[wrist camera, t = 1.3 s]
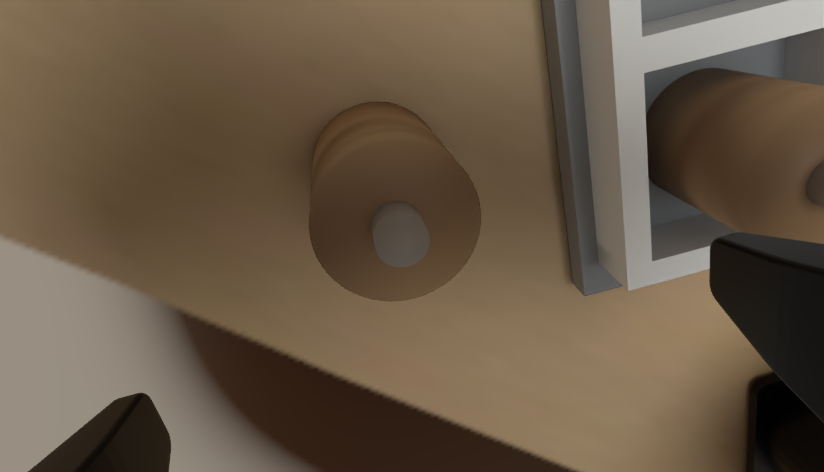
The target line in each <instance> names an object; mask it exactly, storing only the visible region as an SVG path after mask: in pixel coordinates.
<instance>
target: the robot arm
mask: <svg viewBox="0 0 824 472" xmlns="http://www.w3.org/2000/svg"><path fill="white" fill-rule="evenodd" d="M710 288H711V292H712V294H713V296H714V298H715V299H716V301H717V302H718V303H719V305H720V306H721V307H722V308H723V309H724V311H725V312H726V313H727V314H728V316H729V317H730V318H731V319H732V321H733V322H734V323H735V324H736V326H737V327H738V328H739V329H740V331H741V332H742V333H743V334H744V336H745V337H746V338H747V339H748V341H749V342H750V343H751V344H752V346H753V347H754V348H755V349H756V351H757V352H758V353H759V354H760V356H761V357H762V358H763V359H764V361H765V362H766V363H767V364H768V365H769V366H770V368H771V369H772V370H773V371H774V372H775V373H776V374H775V375H771V376H768V377H764V378H761V379H759V380H757V381H756V382H755V383H754V384H753V385H752V387H751V390H750V412H749V435H748V458H747V472H824V244H821V243H814V242H807V241H800V240H793V239H786V238H779V237H772V236H765V235H758V234H751V233H744V232H737V233H732V234H729V235H725V236H721V237H718V238H715V239H714V240H713V241H712V243H711V245H710ZM170 453H171V441H170V436H169V433H168V431H167V429H166V427H165V425H164V423H163V421H162V419H161V417H160V415H159V413H158V411H157V409H156V408H155V406H154V404H153V402H152V400H151V399H150V397H149V396H148V395H147V394H144V393H137V394H134V395H130V396H126V397H122V398H119V399H116V400H115V401H113V402H112V403H111V404H110V405H108V406H107V407H106V408H105V409H103V410H102V411H101V412H100V413H99V414H97V415H96V416H95V417H94V418H93V419H91V420H90V421H89V422H88V423H87V424H85V425H84V426H83V427H82V428H80V429H79V430H78V431H77V432H76V433H74V434H73V435H72V436H71V437H70V438H68V439H67V440H66V441H65V442H63V443H62V444H61V445H60V446H59V447H57V448H56V449H55V450H54V451H53V452H51V453H50V454H49V455H48V456H47V457H45V458H44V459H43V460H42V461H41V462H39V463H38V464H37V465H36V466H34V467H33V468H32V469H31V470H30V471H28V472H169V463H170Z"/></svg>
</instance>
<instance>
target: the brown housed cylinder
mask: <svg viewBox="0 0 824 472" xmlns="http://www.w3.org/2000/svg"><path fill="white" fill-rule="evenodd" d="M646 132H647V155H648V178H649V179H650V180H651V181H652V182H653V183H654V184H655V185H656V186H657V187H659V188H661V189H663V190H664V191H666V192H668V193H670V194H671V195H673V196H675V197H677V198H679V199H680V200H682V201H684V202H686V203H688V204H689V205H691V206H693V207H695V208H697V209H698V210H700V211H702V212H704V213H706V214H707V215H709V216H711V217H713V218H714V219H716V220H718V221H720V222H722V223H723V224H725V225H727V226H729V227H731V228H732V229H734V230H736V231H738V232H744V233H751V234H758V235H765V236H772V237H779V238H786V239H793V240H800V241H807V242H814V243H821V244H824V86H821V85H815V84H809V83H803V82H797V81H792V80H786V79H780V78H774V77H768V76H763V75H757V74H751V73H745V72H740V71H734V70H728V69H722V68H704V69H699V70H696V71H693V72H690V73H688V74H686V75H683V76H682V77H680V78H678V79H677V80H675V81H674V82H672V83H671V84H670V85H669V86H667V87H666V88H665V89H664V90H663V91H662V92H661V93H660V94H659V96H658V97H657V98H656V99H655V101H654V102H653V104H652V105H651V107H650V108H649V110H648V112H647V114H646Z"/></svg>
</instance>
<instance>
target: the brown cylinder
mask: <svg viewBox="0 0 824 472" xmlns="http://www.w3.org/2000/svg"><path fill="white" fill-rule="evenodd" d="M480 225H481V211H480V203H479V199H478V195H477V192H476V189H475V187H474V185H473V183H472V181H471V179H470V178H469V176H468V174H467V173H466V172H465V171H464V169H463V168H462V167H461V166H460V164H459V163H458V162H457V161H456V160H455V158H454V157H453V156H452V155H451V154H450V152H449V151H448V150H447V149H446V148H445V146H444V145H443V144H442V143H441V142H440V140H439V139H438V138H437V137H436V136H435V134H434V133H433V132H432V131H431V130H430V128H429V127H428V126H427V125H426V124H425V122H424V121H423V120H422V119H421V118H419V117H418V116H417V115H416V114H414V113H413V112H412V111H410V110H408V109H406V108H404V107H402V106H399V105H396V104H392V103H387V102H368V103H362V104H359V105H356V106H353V107H351V108H349V109H346V110H345V111H343V112H342V113H340V114H338V115H337V116H336V117H335V118H334V119H332V120H331V121H330V123H329V124H328V125H327V126H326V127H325V129H324V130H323V132H322V133H321V135H320V137H319V139H318V141H317V143H316V146H315V149H314V154H313V164H312V182H311V200H310V218H309V230H310V238H311V242H312V246H313V249H314V252H315V254H316V257H317V259H318V260H319V262H320V264H321V265H322V267H323V268H324V269H325V271H326V272H327V273H328V274H329V275H330V276H331V277H332V278H333V279H334V280H335V281H336V282H337V283H338V284H340V285H341V286H342V287H344V288H345V289H347V290H349V291H351V292H353V293H355V294H357V295H360V296H362V297H366V298H370V299H373V300H380V301H402V300H408V299H413V298H417V297H420V296H423V295H426V294H428V293H430V292H432V291H434V290H436V289H438V288H439V287H441V286H443V285H444V284H445V283H447V282H448V281H449V280H451V279H452V278H453V277H454V276H455V275H456V274H457V273H458V272H459V271H460V270H461V269H462V267H463V266H464V265H465V263H466V262H467V260H468V259H469V257H470V256H471V254H472V252H473V250H474V247H475V245H476V242H477V239H478V236H479V231H480Z"/></svg>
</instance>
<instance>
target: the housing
mask: <svg viewBox="0 0 824 472" xmlns="http://www.w3.org/2000/svg"><path fill="white" fill-rule="evenodd" d="M541 4H542V12H543V21H544V30H545V39H546V48H547V57H548V66H549V75H550V84H551V93H552V102H553V110H554V119H555V128H556V137H557V146H558V155H559V164H560V173H561V182H562V191H563V199H564V208H565V217H566V226H567V235H568V244H569V253H570V262H571V271H572V280H573V284H574V285H575V286H576V287H577V288H578V289H579V291H580V292H581V293H582V294H583V295H584V296H588V295H592V294H595V293H599V292H603V291H606V290H610V289H614V288H617V287H621V286H623V287H624V288H626V289H627V290H628V291H631V290H634V289H638V288H642V287H645V286H649V285H653V284H656V283H660V282H664V281H667V280H671V279H675V278H678V277H682V276H686V275H689V274H693V273H696V272H700V271H704V270H707V269H710V245H711V243H712V241H713V240H714V239H715V238H718V237H721V236H725V235H729V234H732V233H737V232H738V231H736V230H734V229H732V228H731V227H729V226H727V225H725V224H723V223H722V222H720V221H718V220H716V219H714V218H713V217H711V216H709V215H707V214H706V213H704V212H702V211H700V210H698V209H697V208H695V207H693V206H691V205H689V204H688V203H686V202H684V201H682V200H680V199H679V198H677V197H675V196H673V195H671V194H670V193H668V192H666V191H664V190H663V189H661V188H659V187H657V186H656V185H655V184H654V183H653V182H652V181H651V180H650V179H649V178H648V155H647V132H646V114H647V112H648V110H649V108H650V107H651V105H652V104H653V102H654V101H655V99H656V98H657V97H658V96H659V94H660V93H661V92H662V91H663V90H664V89H665V88H666V87H667V86H669V85H670V84H671V83H672V82H674V81H675V80H677V79H678V78H680V77H682V76H683V75H686V74H688V73H690V72H693V71H696V70H699V69H704V68H722V69H728V70H734V71H740V72H745V73H751V74H757V75H763V76H768V77H774V78H780V79H786V80H792V81H797V82H803V83H809V84H815V85H821V86H824V0H541Z"/></svg>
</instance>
